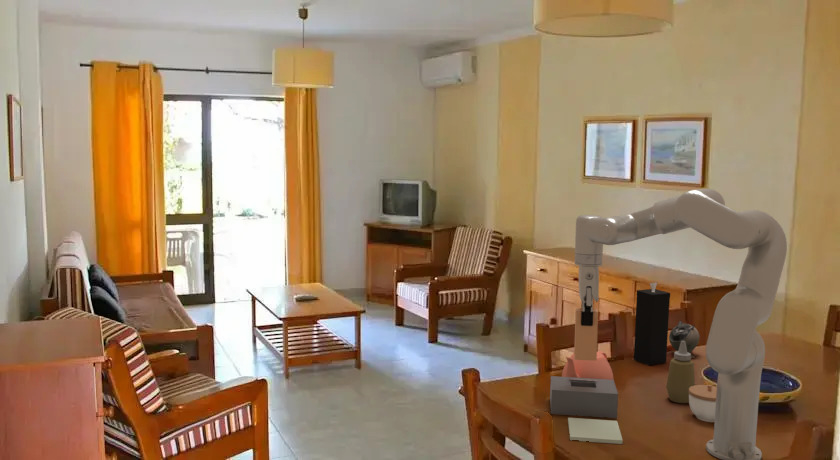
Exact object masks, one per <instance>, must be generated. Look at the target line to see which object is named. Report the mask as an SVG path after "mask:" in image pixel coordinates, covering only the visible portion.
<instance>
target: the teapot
mask: <svg viewBox="0 0 840 460" xmlns="http://www.w3.org/2000/svg"><path fill="white" fill-rule="evenodd" d="M565 359H566V363H565V364H564V367H563V369H562V373H561V377H574V378H591V379H608V380H614V373H613V370H612V367H611V365H610V363H609V362H608V354H607V353H606V352H605V351H601V350H599V351H598V350H597V361H592V360H575V359H574V352H573V353H571V356H570V357H568V356H565ZM614 381H615V380H614Z"/></svg>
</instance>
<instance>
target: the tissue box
mask: <svg viewBox="0 0 840 460" xmlns="http://www.w3.org/2000/svg"><path fill="white" fill-rule="evenodd" d="M657 284H658V282H651V283H649V285H650V288H648V289H638V290H636V303H635V304H636V306H635V321H634V322H635V325H634V327H635V328H634V346H633V347H634V348H633V351H634V352H633V360H635V361H637V362H639V363H642V364H644V365H646V366H655V365H660V364H666V363H667V353H668V339H669V334H668V333H669V319H670V318H669V317H670V303H671V302H670V299H671V292H668V291H664V290H661V289H657Z"/></svg>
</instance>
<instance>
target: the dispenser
mask: <svg viewBox="0 0 840 460" xmlns="http://www.w3.org/2000/svg"><path fill="white" fill-rule="evenodd" d="M549 386H550V389H549V390H550V392H549V394H550V395H549V402H550V414H551V415H562V416H563V415H564V416H576V415H577V416H576V417H589V416H590V417H591V416H592V417H591V418H593V417H594V418H604V417H607V419H608V418H609V419H618V408H619V407H618V405H619V404H618V403H619V392H618V389H617V386H616V383H615V380H608V379H591V378H574V377H562V376H554V375H550V385H549Z"/></svg>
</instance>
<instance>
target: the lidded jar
mask: <svg viewBox="0 0 840 460" xmlns="http://www.w3.org/2000/svg"><path fill="white" fill-rule="evenodd" d="M716 392H717V385H716V386H715V385H711V384H695V386H691V387H690V388H689V403H688V404H689V408H690V410H691V412H692V413H693V415H695V417H696V419H698V420H700V421H703V422H707V423H715V407H716Z"/></svg>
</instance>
